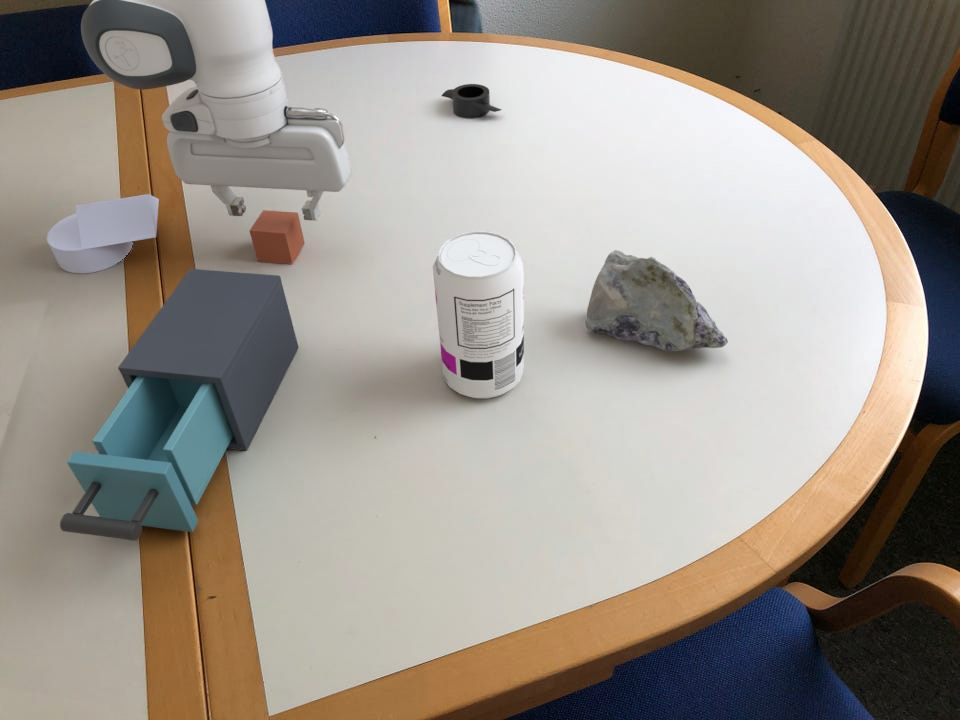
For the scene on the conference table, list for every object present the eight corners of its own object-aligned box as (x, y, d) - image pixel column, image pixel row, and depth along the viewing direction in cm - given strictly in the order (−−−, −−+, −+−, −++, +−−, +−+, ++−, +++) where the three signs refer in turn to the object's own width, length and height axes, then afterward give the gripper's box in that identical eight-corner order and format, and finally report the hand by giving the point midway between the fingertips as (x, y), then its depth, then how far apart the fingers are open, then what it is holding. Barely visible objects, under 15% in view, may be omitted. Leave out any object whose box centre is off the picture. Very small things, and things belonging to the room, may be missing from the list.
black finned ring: (486, 92, 129) (485, 75, 127) (504, 119, 122) (503, 101, 120) (440, 100, 127) (438, 82, 125) (455, 127, 120) (454, 109, 118)
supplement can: (427, 383, 80) (413, 262, 70) (473, 337, 85) (465, 218, 75) (494, 414, 77) (490, 292, 66) (538, 364, 81) (540, 243, 71)
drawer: (168, 579, 63) (136, 521, 58) (73, 565, 65) (33, 508, 59) (253, 416, 76) (233, 356, 71) (172, 407, 78) (146, 348, 72)
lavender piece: (166, 221, 104) (62, 238, 102) (150, 175, 99) (41, 192, 97) (164, 260, 98) (53, 279, 95) (147, 213, 93) (29, 232, 91)
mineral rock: (729, 359, 81) (748, 280, 74) (643, 396, 78) (655, 317, 71) (653, 291, 90) (664, 215, 83) (572, 322, 86) (576, 245, 79)
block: (292, 264, 96) (285, 233, 93) (257, 261, 97) (249, 230, 94) (304, 243, 99) (297, 212, 96) (270, 240, 100) (262, 210, 97)
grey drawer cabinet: (247, 451, 74) (220, 377, 68) (152, 440, 76) (117, 367, 69) (299, 347, 85) (280, 275, 78) (215, 339, 86) (189, 268, 80)
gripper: (347, 96, 86) (366, 205, 95) (173, 90, 89) (207, 197, 98) (330, 123, 81) (351, 235, 91) (146, 116, 84) (185, 225, 94)
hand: (275, 215), depth 95 cm, fingers open, 8 cm apart
